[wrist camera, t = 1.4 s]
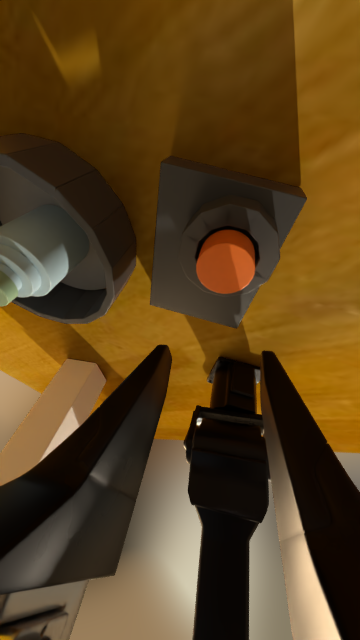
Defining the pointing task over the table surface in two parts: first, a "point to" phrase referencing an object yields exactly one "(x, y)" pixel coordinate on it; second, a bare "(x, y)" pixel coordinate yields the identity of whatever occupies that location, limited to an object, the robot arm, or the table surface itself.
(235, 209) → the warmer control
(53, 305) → the bottle warmer
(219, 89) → the table surface
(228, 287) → the stop button
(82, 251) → the bottle
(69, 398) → the milk
